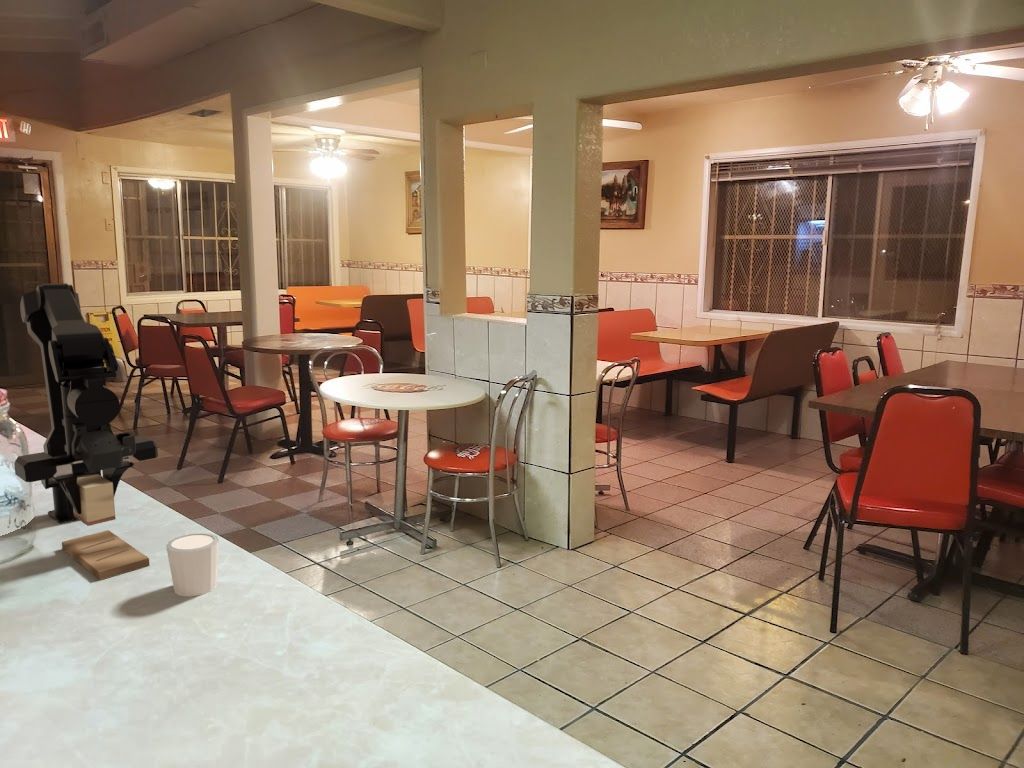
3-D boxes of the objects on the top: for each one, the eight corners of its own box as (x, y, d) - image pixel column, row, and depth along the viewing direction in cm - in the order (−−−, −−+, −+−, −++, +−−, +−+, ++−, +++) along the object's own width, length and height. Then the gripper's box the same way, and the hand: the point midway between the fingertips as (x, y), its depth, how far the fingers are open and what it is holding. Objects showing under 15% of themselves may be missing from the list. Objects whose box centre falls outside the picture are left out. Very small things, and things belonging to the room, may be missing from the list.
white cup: (209, 599, 104) (206, 551, 102) (160, 598, 104) (156, 550, 103) (228, 577, 110) (226, 532, 109) (182, 576, 111) (179, 531, 109)
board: (62, 548, 119) (61, 541, 119) (109, 536, 124) (108, 529, 124) (100, 580, 109) (99, 572, 109) (149, 565, 114) (149, 558, 114)
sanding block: (73, 515, 118) (70, 479, 117) (101, 509, 121) (98, 474, 120) (87, 526, 114) (84, 488, 113) (115, 519, 117) (112, 482, 116)
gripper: (32, 433, 102) (43, 541, 105) (169, 412, 116) (176, 508, 119) (8, 419, 110) (19, 520, 113) (140, 401, 123) (146, 491, 126)
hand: (93, 510), depth 117 cm, fingers closed on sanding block, 4 cm apart
